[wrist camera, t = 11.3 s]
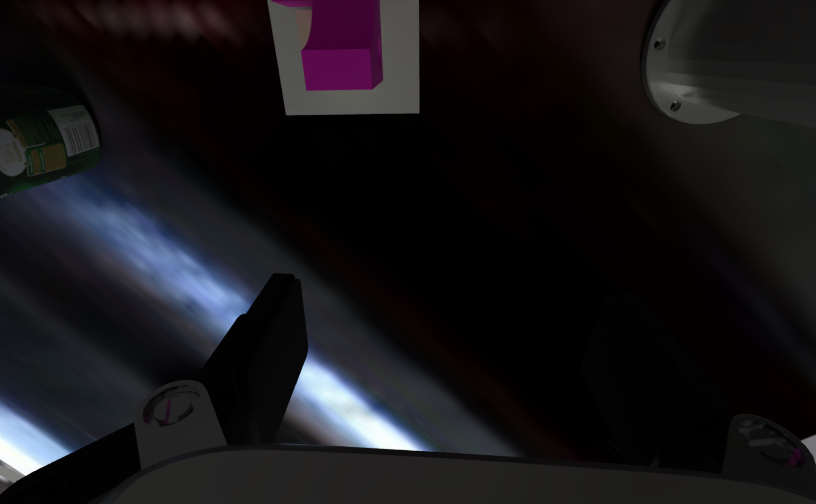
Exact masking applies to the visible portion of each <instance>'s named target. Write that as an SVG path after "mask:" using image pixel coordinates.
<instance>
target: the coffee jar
mask: <svg viewBox="0 0 816 504" xmlns="http://www.w3.org/2000/svg"><path fill="white" fill-rule="evenodd" d="M100 157H101V142H100V137H99V133H98V129H97V126H96V124H95V122H94V120H93V118H92V116H91V114H90V112H89V111H88V109H87V108H86V107H85V106H84V104H83V103H82V102H81V101H80V100H78V99H77V98H76V97H74V96H73V95H71V94H68V93H66V92H64V91H60V90H57V89H54V88H49V87H45V86H40V85H33V84H27V83H15V82H0V198H2V197H5V196H8V195H11V194H14V193H17V192H20V191H23V190H26V189H29V188H32V187H35V186H39V185H42V184H45V183H48V182H52V181H55V180H59V179H61V178H65V177H68V176H71V175H74V174H77V173H80V172H83V171H86V170H89V169H91V168H93V167H95V166H96V165H97V163H98V162H99V160H100Z"/></svg>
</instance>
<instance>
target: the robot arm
mask: <svg viewBox="0 0 816 504" xmlns="http://www.w3.org/2000/svg"><path fill="white" fill-rule="evenodd" d="M655 42H656V46H655V47H654V44H655ZM641 70H642V81H643V84H644V88H645V91H646V93H647V95H648V97H649V99H650V101H651V102H652V104H653V105H654V106H655V107H656V108H657V109H658V110H659V111H660V112H661V113H663V114H665V115H666V116H668V117H670V118H672V119H675V120H678V121H681V122H686V123H691V124H710V123H715V122H720V121H724V120H727V119H729V118H732V117H735V116H738V115H739V114H741V113H742V114H747V115H752V116H757V117H762V118H767V119H772V120H777V121H782V122H787V123H793V124H798V125H803V126H808V127H813V128H816V0H665V1H664V3H663V5H662V6H661V8H660V9H659V11H658V12H657V14H656V16H655V18H654V20H653V22H652V24H651V26H650V29H649V31H648V33H647V37H646V40H645V44H644V47H643V53H642V62H641ZM671 105H672V106H671ZM670 106H671V107H670ZM307 353H308V340H307V332H306V323H305V315H304V306H303V298H302V289H301V282H300V280H299V279H295V277H294V275H293V274H281V273H274V274H273V275H272V276H271V277H270V279H269V280H268V282H267V283H266V285H265V286H264V288H263V289H262V291H261V292H260V294H259V295H258V297H257V298H256V300H255V301H254V303H253V304H252V306H251V307H250V309H249V310H248V312H247V313H246V314H242V315H240V316H239V317H238V318H237V319H236V321H235V322H234V324H233V325H232V326H231V328H230V329H229V331H228V332H227V334H226V335H225V337H224V338H223V339H222V341H221V342H220V344H219V345H218V347H217V348H216V349H215V351H214V352H213V354H212V355H211V357H210V358H209V359H208V361H207V362H206V364H205V365H204V367H203V368H202V370H201V371H200V372H199V374H198V375H197V377H196V378H195V380H194V381H193V380H181V381H175V382H172V383H169V384H166V385H164V386H162V387H160V388H158V389H156V390H155V391H153V392H152V393H151V394H149V395H148V396H147V397H146V398H145V399H144V400H143V401H142V402H141V403H140V404H139V406H138V408H137V410H136V412H135V415H134V423H132V424H130V425H128V426H126V427H124V428H122V429H120V430H117V431H115V432H113V433H111V434H109V435H107V436H105V437H103V438H101V439H99V440H97V441H95V442H93V443H91V444H89V445H87V446H85V447H83V448H81V449H79V450H77V451H75V452H73V453H70V454H68V455H66V456H64V457H62V458H60V459H58V460H56V461H54V462H52V463H50V464H48V465H46V466H44V467H42V468H40V469H38V470H36V471H34V472H32V473H30V474H28V475H27V476H25V477H23V478H21V479H20V480H18V481H16V482H15V483H14V484H13V485H11V486H10V487H9V488H7V489H6V490H5V491H4V492H2V493H1V495H0V504H816V464H815V461H814V458H813V455H812V454H811V453H810V451H809V450H808V448H807V447H806V446H805V445H804V444H803V443H802V442H801V441H800V440H799V439H798V438H797V437H796V436H794V435H793V434H791V433H790V432H789V431H787V430H786V429H784V428H783V427H781V426H779V425H777V424H775V423H774V422H772V421H769V420H767V419H764V418H762V417H758V416H754V415H749V414H739V415H737V416H735V417H734V415H733V414H732V413H731V412H730V411H729V407H730V406H731V403H730V402H729V401H728V400H727V398H726V397H725V396H724V395H723V394H722V393H721V391H720V390H719V389H718V388H717V387H716V386H715V384H714V383H713V382H712V381H711V380H710V379H709V377H708V376H707V375H706V374H705V373H704V372H703V370H702V369H701V368H700V367H699V366H698V365H697V363H696V362H695V361H694V360H693V359H692V358H691V356H690V355H689V354H688V353H687V352H686V351H685V349H684V348H683V347H682V346H681V345H680V344H679V342H678V341H677V340H676V339H675V338H674V337H673V335H672V334H671V333H670V332H669V331H668V330H667V328H666V327H665V326H664V325H663V324H662V323H661V321H660V320H659V319H658V318H657V317H656V316H655V314H654V313H653V312H652V311H651V310H650V309H649V307H648V306H647V305H646V304H645V303H644V302H643V300H642V299H641V298H640V297H639V296H638V295H637V294H634V293H619V292H615V293H613V294H612V295H611V297H607V298H606V299H605V301H604V304H603V307H602V310H601V313H600V315H599V318H598V321H597V324H596V326H595V329H594V332H593V335H592V337H591V340H590V343H589V346H588V348H587V351H586V354H585V357H584V360H583V364H582V368H583V373H584V375H585V377H586V379H587V381H588V383H589V385H590V387H591V389H592V392H593V394H594V396H595V398H596V400H597V402H598V404H599V406H600V408H601V410H602V412H603V414H604V416H605V418H606V420H607V422H608V425H609V427H610V429H611V431H612V433H613V435H614V437H615V439H616V441H617V443H618V445H619V447H620V449H621V451H622V453H623V455H624V458H625V460H626V462H627V464H628V465H624V464H610V463H596V462H581V461H567V460H553V459H538V458H523V457H507V456H492V455H476V454H461V453H445V452H429V451H412V450H395V449H378V448H361V447H344V446H323V445H299V444H273V443H274V440H275V437H276V435H277V432H278V430H279V427H280V424H281V422H282V419H283V417H284V414H285V411H286V409H287V406H288V404H289V401H290V398H291V396H292V393H293V391H294V388H295V385H296V383H297V380H298V378H299V375H300V373H301V370H302V367H303V365H304V362H305V360H306V357H307Z"/></svg>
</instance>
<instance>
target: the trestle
mask: <svg viewBox="0 0 816 504" xmlns="http://www.w3.org/2000/svg"><path fill="white" fill-rule="evenodd" d="M268 6H269V12H270V18H271V25H272V31H273V37H274V43H275V49H276V55H277V61H278V67H279V73H280V79H281V85H282V92H283V98H284V104H285V110H286V115H321V114H386V113H419V0H380V17H381V39H382V61H383V81H382V82H381V83H380V84H378V85H377V86H376V87H375V88H374V89H373V90H330V91H306V85H305V78H304V71H303V64H302V56H301V50H302V49H303V48H304V47H305V45H306V43H307V41H308V38H309V33H310V28H311V19H312V7H287V6H284V5H281V4H278V3H275V2H272V1H271V0H268Z"/></svg>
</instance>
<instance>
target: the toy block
mask: <svg viewBox="0 0 816 504" xmlns="http://www.w3.org/2000/svg"><path fill="white" fill-rule="evenodd" d="M271 1H272V2H275V3H278V4H281V5H284V6H287V7H312V19H311V28H310V33H309V38H308V41H307V43H306V45H305V47H304V48H303V49H302V50H301V56H302V64H303V71H304V78H305V85H306V91H330V90H373V89H374V88H375V87H376V86H377V85H378V84H380V83H381V82H382V81H383V61H382V39H381V17H380V0H271Z"/></svg>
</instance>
